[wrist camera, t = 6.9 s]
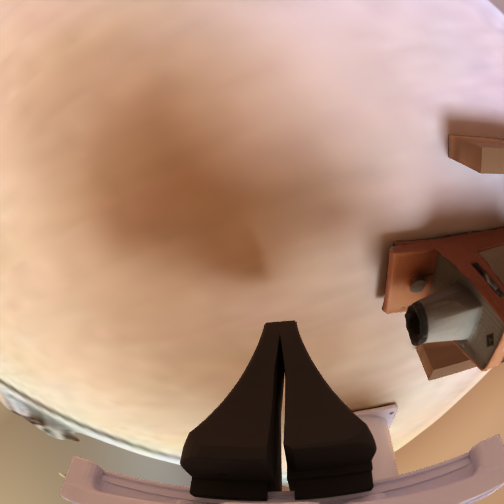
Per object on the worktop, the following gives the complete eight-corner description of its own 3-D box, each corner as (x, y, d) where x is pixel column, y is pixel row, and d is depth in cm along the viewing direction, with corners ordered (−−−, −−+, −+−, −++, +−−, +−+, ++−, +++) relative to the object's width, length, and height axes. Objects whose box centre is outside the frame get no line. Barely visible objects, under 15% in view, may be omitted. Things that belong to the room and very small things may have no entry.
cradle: (485, 332, 18) (500, 357, 16) (416, 350, 19) (428, 380, 17) (529, 142, 11) (560, 155, 9) (448, 135, 12) (482, 147, 9)
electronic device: (381, 237, 15) (442, 336, 9) (506, 221, 14) (578, 287, 8) (377, 301, 17) (416, 402, 11) (493, 278, 16) (548, 349, 10)
